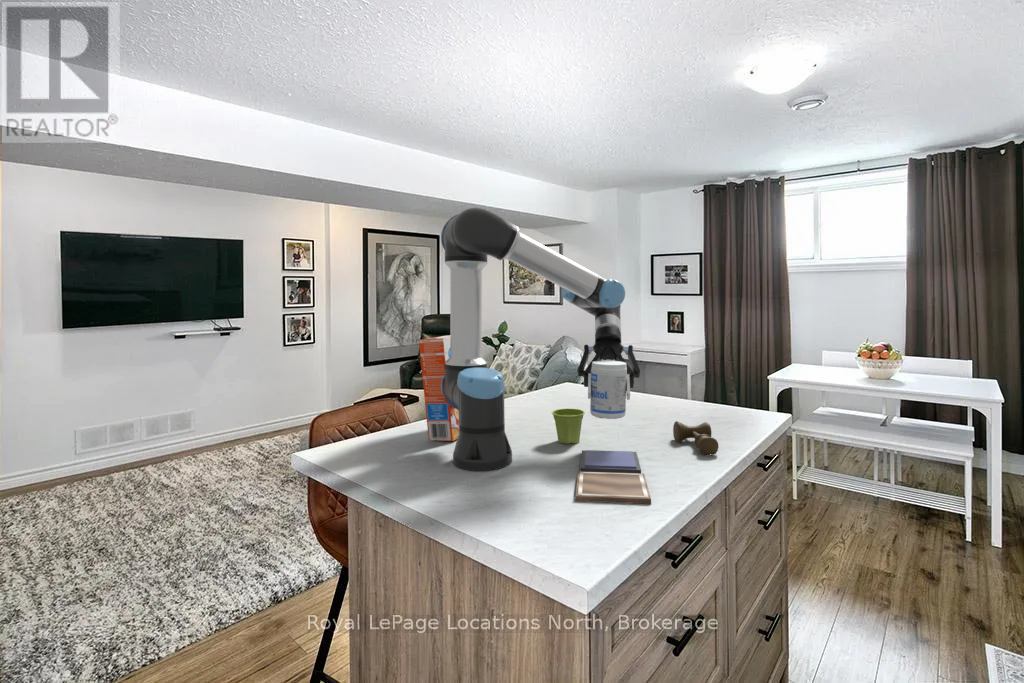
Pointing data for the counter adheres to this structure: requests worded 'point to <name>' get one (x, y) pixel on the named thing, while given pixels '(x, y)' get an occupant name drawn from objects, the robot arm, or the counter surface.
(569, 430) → the plant pot
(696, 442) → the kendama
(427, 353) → the orange cereal box
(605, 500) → the board
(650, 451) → the counter surface
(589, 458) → the ink pad
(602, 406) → the supplement tub
